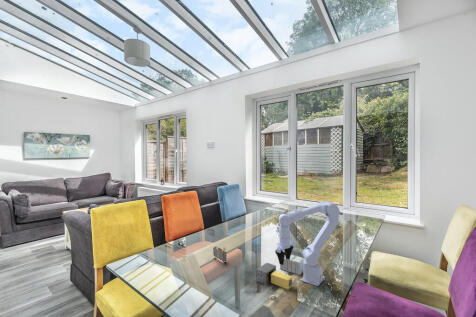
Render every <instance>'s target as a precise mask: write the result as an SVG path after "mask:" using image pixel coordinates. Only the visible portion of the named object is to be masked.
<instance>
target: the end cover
mask: <svg viewBox="0 0 476 317" xmlns="http://www.w3.org/2000/svg"><path fill="white" fill-rule="evenodd" d="M270 283H271V284H273V285H276V286H278V287H281V288H283V289H286V290H290V289H291V288H292V287H293V276H292V275H290V274H286V273H284V272H280V271H277V270H276V271H274V272H273V273H272V274H271V282H270Z"/></svg>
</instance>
